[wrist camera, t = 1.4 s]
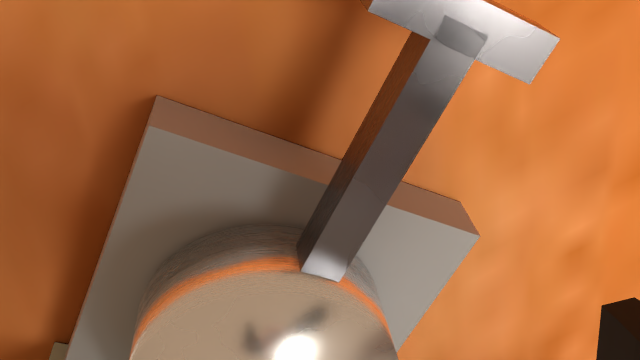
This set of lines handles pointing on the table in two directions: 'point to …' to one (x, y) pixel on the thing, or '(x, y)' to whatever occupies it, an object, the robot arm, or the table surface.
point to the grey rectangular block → (250, 222)
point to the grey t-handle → (331, 212)
